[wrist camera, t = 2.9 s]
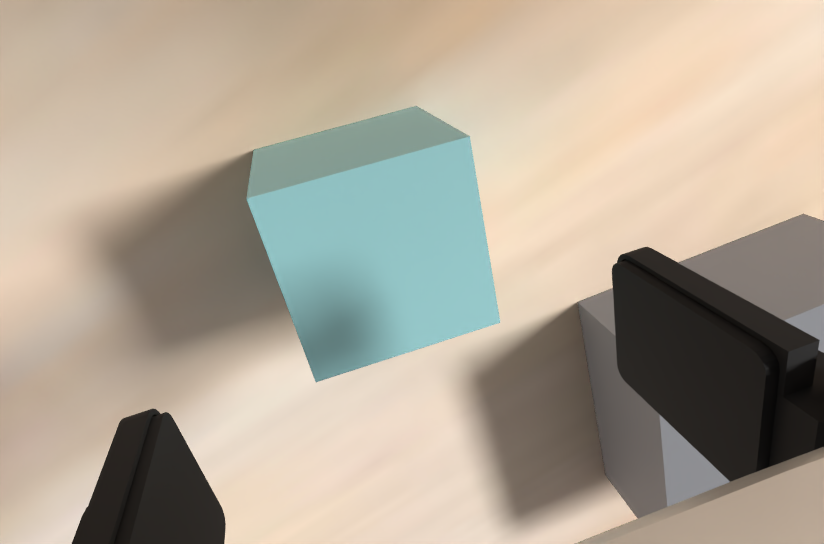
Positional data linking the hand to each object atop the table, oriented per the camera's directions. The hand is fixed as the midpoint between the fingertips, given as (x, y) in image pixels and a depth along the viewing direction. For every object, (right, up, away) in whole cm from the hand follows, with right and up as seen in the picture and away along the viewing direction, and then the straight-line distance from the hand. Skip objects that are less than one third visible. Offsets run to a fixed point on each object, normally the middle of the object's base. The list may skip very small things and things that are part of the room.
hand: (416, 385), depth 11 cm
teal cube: (-2, +5, +10) cm, 11 cm away
